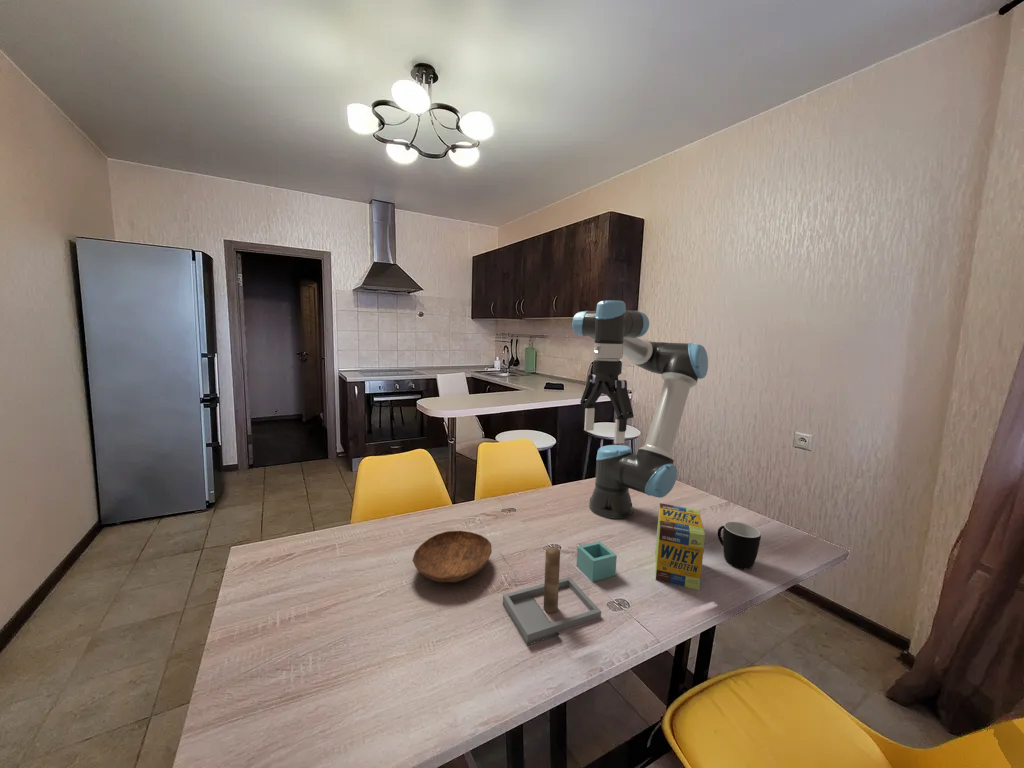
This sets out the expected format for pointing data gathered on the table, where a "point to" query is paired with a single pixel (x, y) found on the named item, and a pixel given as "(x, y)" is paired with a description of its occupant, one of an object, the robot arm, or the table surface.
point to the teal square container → (596, 561)
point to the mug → (739, 544)
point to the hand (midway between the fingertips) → (603, 436)
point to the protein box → (679, 546)
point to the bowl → (452, 556)
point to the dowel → (551, 580)
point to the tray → (534, 619)
